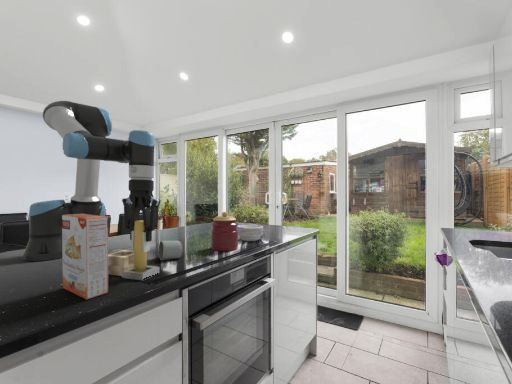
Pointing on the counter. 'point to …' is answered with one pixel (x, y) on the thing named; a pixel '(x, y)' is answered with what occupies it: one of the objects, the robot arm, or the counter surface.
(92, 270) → the cracker box
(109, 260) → the beech socket block
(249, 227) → the paper bowls
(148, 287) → the counter surface
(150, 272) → the grey mount plate
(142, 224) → the ochre pin
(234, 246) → the canister
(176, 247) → the ceramic mug
